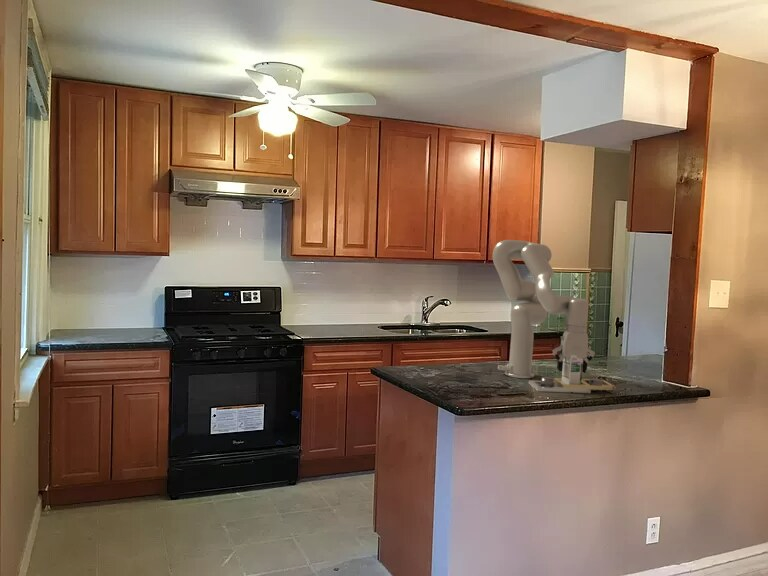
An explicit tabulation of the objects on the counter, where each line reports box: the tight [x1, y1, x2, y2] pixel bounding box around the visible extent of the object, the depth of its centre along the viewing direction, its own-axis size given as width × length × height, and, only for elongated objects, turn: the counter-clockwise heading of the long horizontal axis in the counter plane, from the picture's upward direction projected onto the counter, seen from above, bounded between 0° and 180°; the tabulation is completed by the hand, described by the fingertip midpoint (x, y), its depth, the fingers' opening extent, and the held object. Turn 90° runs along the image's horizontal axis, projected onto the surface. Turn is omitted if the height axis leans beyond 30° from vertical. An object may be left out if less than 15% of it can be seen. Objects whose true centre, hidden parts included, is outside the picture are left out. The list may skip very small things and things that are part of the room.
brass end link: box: [553, 377, 617, 395], centre depth 249 cm, size 21×11×4 cm, turn 94°
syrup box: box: [561, 355, 583, 384], centre depth 248 cm, size 6×6×14 cm
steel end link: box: [528, 376, 592, 394], centre depth 248 cm, size 21×11×4 cm, turn 94°
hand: (571, 371), depth 248 cm, fingers open, 9 cm apart
